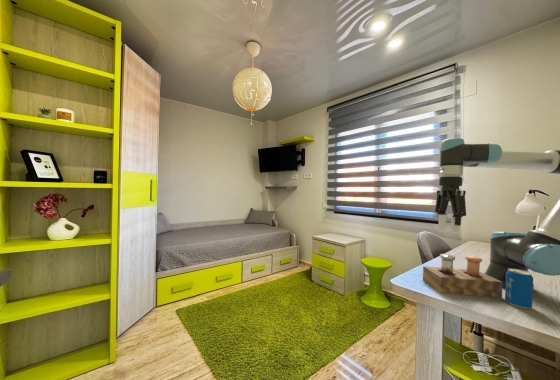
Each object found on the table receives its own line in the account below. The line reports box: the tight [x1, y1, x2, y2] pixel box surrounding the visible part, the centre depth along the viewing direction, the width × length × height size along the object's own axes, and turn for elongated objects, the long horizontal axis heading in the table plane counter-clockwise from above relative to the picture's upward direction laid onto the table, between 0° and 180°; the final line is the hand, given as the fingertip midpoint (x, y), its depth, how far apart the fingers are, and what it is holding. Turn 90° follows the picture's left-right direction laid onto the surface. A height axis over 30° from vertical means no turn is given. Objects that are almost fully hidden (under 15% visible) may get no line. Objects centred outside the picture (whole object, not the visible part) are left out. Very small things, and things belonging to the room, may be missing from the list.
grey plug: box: [439, 253, 456, 275], centre depth 89 cm, size 5×5×7 cm
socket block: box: [422, 265, 503, 299], centre depth 88 cm, size 22×12×6 cm, turn 84°
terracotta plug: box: [465, 255, 483, 277], centre depth 88 cm, size 5×5×7 cm
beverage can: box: [504, 269, 534, 310], centre depth 76 cm, size 6×6×12 cm
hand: (448, 231), depth 89 cm, fingers open, 8 cm apart
